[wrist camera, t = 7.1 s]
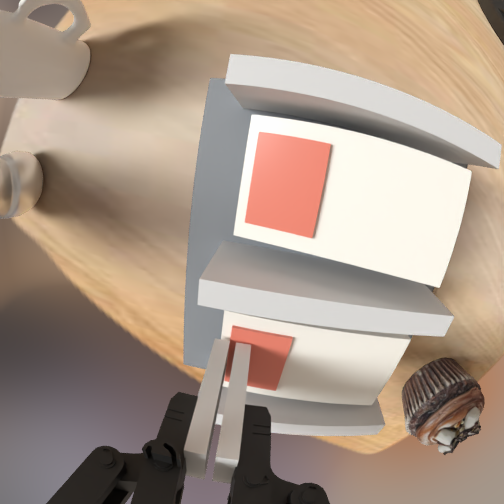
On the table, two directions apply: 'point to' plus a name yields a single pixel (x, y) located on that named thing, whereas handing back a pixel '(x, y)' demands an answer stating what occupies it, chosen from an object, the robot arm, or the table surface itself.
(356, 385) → the block
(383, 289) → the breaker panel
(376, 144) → the breaker
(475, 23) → the table surface
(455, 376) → the cupcake
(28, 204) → the plastic bottle
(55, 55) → the mug
